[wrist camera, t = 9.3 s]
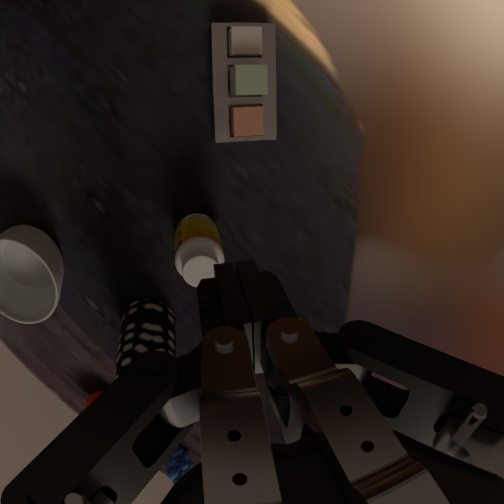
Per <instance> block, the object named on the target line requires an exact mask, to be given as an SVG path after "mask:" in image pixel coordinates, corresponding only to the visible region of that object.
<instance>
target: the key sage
mask: <svg viewBox="0 0 504 504" xmlns="http://www.w3.org/2000/svg"><path fill="white" fill-rule="evenodd" d="M230 95H268V78H267V65H234V66H232V67H230Z"/></svg>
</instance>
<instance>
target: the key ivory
mask: <svg viewBox="0 0 504 504" xmlns="http://www.w3.org/2000/svg"><path fill="white" fill-rule="evenodd" d="M261 54H262V27H252V26H231V28H230V29H229V30H228V31H227V58H236V57H256V56H258V55H261Z"/></svg>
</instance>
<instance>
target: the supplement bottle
mask: <svg viewBox="0 0 504 504" xmlns="http://www.w3.org/2000/svg"><path fill="white" fill-rule="evenodd" d="M220 263H224V254H223V250H222V246H221V242H220V238H219V234H218V230H217V227H216V225H215V223H214V221H213V220H212V219H211V218H210V217H208V216H206V215H204V214H198V213H195V214H190V215H187V216H186V217H184V218H183V219H181V221H180V222H179V223H178V225H177V227H176V231H175V265H176V268H177V270H178V272H179V273H180V274H181V275H182V276H183V277H184V279H185V281H186V282H187V283H188V284H190V285H192V286H194V287H197V286H198V284H199V282H200V281H201V279H205V278H214V266H213V265H214V264H220Z"/></svg>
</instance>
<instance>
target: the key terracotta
mask: <svg viewBox="0 0 504 504" xmlns="http://www.w3.org/2000/svg"><path fill="white" fill-rule="evenodd" d="M229 132H230V133H231V134H232V135H233V136H234V137H236V136H256V135H264V129H263V107H262V106H257V105H242V106H229Z"/></svg>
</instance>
